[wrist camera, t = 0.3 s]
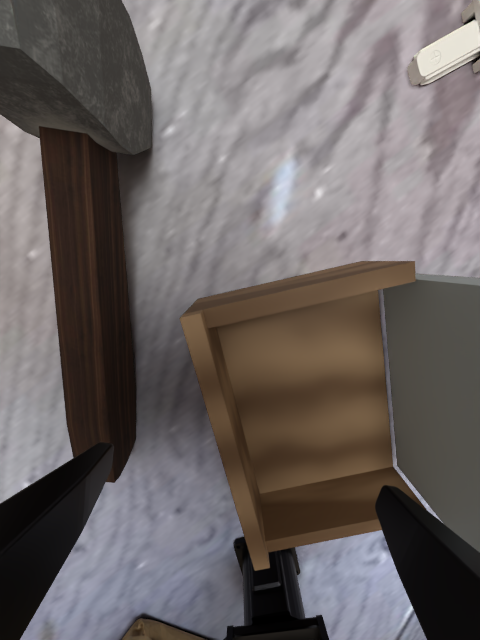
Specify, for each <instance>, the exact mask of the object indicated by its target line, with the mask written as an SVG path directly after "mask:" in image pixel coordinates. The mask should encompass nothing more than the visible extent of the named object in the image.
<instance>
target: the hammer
mask: <svg viewBox="0 0 480 640" xmlns="http://www.w3.org/2000/svg"><path fill="white" fill-rule="evenodd" d="M0 114H1V115H2V116H4V117H5V118H6V119H8V120H9V121H11V122H12V123H13V124H15V125H16V126H18V127H19V128H21V129H22V130H23V131H25V132H27V133H29V134H31V135H34V136H36V137H38V138H40V145H41V155H42V166H43V177H44V187H45V198H46V209H47V219H48V230H49V240H50V251H51V262H52V272H53V283H54V293H55V304H56V315H57V325H58V336H59V347H60V357H61V368H62V378H63V389H64V400H65V410H66V421H67V427H68V432H69V437H70V442H71V447H72V452H73V457H74V458H75V457H76V456H78V455H80V454H81V453H83V452H84V451H86V450H88V449H89V448H91V447H92V446H94V445H96V444H97V443H100V442H105V443H111V444H113V446H114V451H113V460H112V468H111V471H110V474H109V476H108V478H107V480H106V482H113V483H115V481H116V480H117V479H118V478H119V476H120V475H121V473H122V471H123V469H124V467H125V465H126V463H127V461H128V458H129V456H130V454H131V451H132V449H133V446H134V443H135V439H136V383H135V371H134V359H133V347H132V335H131V323H130V311H129V299H128V287H127V275H126V263H125V251H124V239H123V227H122V215H121V203H120V190H119V178H118V166H117V154H116V152H118V153H124V154H131V155H135V154H137V153H140V152H142V151H145V150H147V149H149V148H151V147H152V140H151V87H150V83H149V79H148V75H147V72H146V68H145V64H144V60H143V56H142V52H141V49H140V46H139V43H138V40H137V37H136V34H135V31H134V28H133V25H132V22H131V19H130V16H129V14H128V12H127V10H126V8H125V6H124V4H123V2H122V0H0Z"/></svg>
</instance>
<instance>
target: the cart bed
mask: <svg viewBox="0 0 480 640" xmlns="http://www.w3.org/2000/svg"><path fill="white" fill-rule="evenodd" d="M415 281H416V277H415V261H361V262H356V263H352V264H348V265H343V266H339V267H335V268H330V269H326V270H321V271H317V272H313V273H308V274H304V275H300V276H295V277H291V278H287V279H282V280H278V281H274V282H269V283H265V284H261V285H256V286H252V287H248V288H243V289H239V290H235V291H230V292H226V293H222V294H217V295H213V296H209V297H204V298H200V299H197V300H196V301H195V302H194V303H193V305H192V306H191V307H190V308H189V309H188V310H187V311H186V312H185V313H184V314H183V315H182V316H181V317H180V321H181V324H182V328H183V331H184V335H185V338H186V341H187V345H188V348H189V351H190V355H191V358H192V361H193V365H194V368H195V372H196V375H197V378H198V382H199V385H200V388H201V392H202V395H203V399H204V402H205V405H206V409H207V412H208V415H209V419H210V422H211V425H212V429H213V432H214V436H215V439H216V442H217V446H218V449H219V452H220V456H221V459H222V463H223V466H224V469H225V473H226V476H227V479H228V483H229V486H230V489H231V493H232V496H233V500H234V503H235V506H236V510H237V513H238V516H239V520H240V523H241V526H242V530H243V533H244V537H245V540H246V543H247V547H248V550H249V553H250V557H251V560H252V564H253V567H254V570H255V571H257V570H262V569H267V568H270V563H269V555H268V552H273V551H278V550H283V549H288V548H293V547H298V546H303V545H308V544H313V543H318V542H323V541H328V540H333V539H338V538H343V537H348V536H354V535H359V534H364V533H369V532H374V531H379V530H382V528H381V525H380V522H379V520H378V517H377V514H376V510H375V502H376V500H377V497H378V495H379V492H380V490H381V488H382V486H383V485H390V486H395V487H398V488H399V489H400V490H402V491H403V492H404V493H405V494H407V495H408V496H409V497H410V498H412V499H413V500H414V501H415V502H417V503H418V504H419V505H420V506H422V507H423V508H424V509H426V508H425V507H424V506H423V504H422V503H421V502H420V501H419V499H418V498H417V497H416V495H415V494H414V493H413V492H412V490H411V489H410V488H409V486H408V485H407V484H406V483H405V481H404V480H403V479H402V477H401V476H400V475H399V474H398V472H397V471H396V470H395V468H394V467H393V460H392V449H391V437H390V425H389V414H388V402H387V390H386V379H385V367H384V355H383V344H382V332H381V321H380V309H379V297H378V290H380V289H384V288H389V287H393V286H398V285H402V284H407V283H411V282H415Z"/></svg>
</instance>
